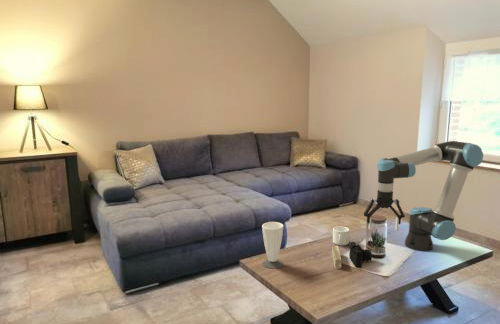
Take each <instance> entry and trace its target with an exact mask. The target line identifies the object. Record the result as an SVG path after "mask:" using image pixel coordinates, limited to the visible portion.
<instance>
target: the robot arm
mask: <svg viewBox="0 0 500 324" xmlns="http://www.w3.org/2000/svg"><path fill="white" fill-rule="evenodd" d="M483 159H484V152H483V151H482V148H481V147H480V146H479V145H478V144H475V143H471V142H464V141H463V142H462V141H457V140H456V141H455V140H451V141H450V140H449V141H444V142H441V143H437V144H433V145H431V146H430V147H429V148H424V149H421V150H417V151H414V152H410V153H406V154H402V155H399V156H395V157H391V158H384V157H382V158H380V159H379V160H378V161H377V165H376V166H377V169H378V171H377V172H378V173H377V174H378V176H377V193H376V194H377V195H376V198H375V199H374V198H370V201H369V204H368V205H367V207H366V209H365V210H364V212H363V216H364V217H366V224H368V230H369V231H371V230H372V216H373V215H374V214H375V213H376V212H377V211H378V210H379V209H388V208H390V210H391V211H392V212H393V214H395V215H396V217H395V231H396V232H398V231H399V225H401V220H402V218H405V217H406V215H405V214H404V211H403V209H402V207H401V205H400V200H399V199H398V198H396V199H393V197H394V191H393V190H394V181H395V179H407V178H413V177H414V176H415V174H416V173H417V172H416V170H417V168H416V166H419V165H424V164H426V163H431V162H442V161H445V162H449V166H450V170H449V173H448V175H447V177H446V180H445V184H444V186H443V187H442V190H441V193H440V197H439V199H438V202H437V204H436V207H435V208H434V209H432V208H430V207H424V206H423V207H420V206H417V207H413V208H411V209H410V212H409V220H408V222H409V223H408V225H409V226H408V232H407V235H406V237H405V240H404V245H405V247H406V248H409V249H411V250H414V251H420V252H421V251H423V252H424V251H426V252H428V251H431V250H433V248H434V243H433V240H432V237H433V238H434V239H436V240H441V241H446V240H449V239H450V238H451V237H453V236H454V235H455V233H456V229H457V228H456V227H457V226H456V223H455V222H454V221H455V216H454V211H455V208H456V206H457V203H458V200H459V198H460V195H461V193H462V190H463V188H464V186H465V183H466V180H467V178H468V175H469V173H471V172H473V170H474V168H476V167H478V166H479V165H481V164H482V162H483ZM375 203H376V205H375V206H374V204H375ZM392 204H395V205H396V207H397V209H398V212H397V210H396V209H395V208H394V207H393V206H392ZM372 207H373V208H372ZM399 213H400V214H399Z"/></svg>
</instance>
